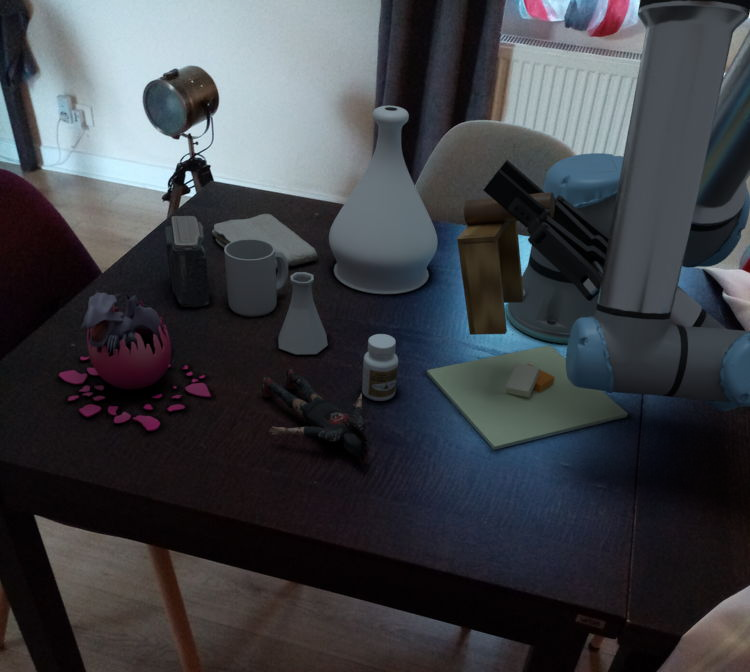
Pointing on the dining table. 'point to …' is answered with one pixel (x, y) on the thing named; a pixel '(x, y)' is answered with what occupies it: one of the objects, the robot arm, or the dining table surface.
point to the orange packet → (543, 381)
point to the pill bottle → (380, 368)
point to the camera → (187, 261)
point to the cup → (254, 276)
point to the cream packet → (522, 380)
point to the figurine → (320, 415)
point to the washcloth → (266, 237)
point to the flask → (302, 320)
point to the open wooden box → (492, 262)
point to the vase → (384, 220)
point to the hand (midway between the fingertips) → (495, 175)
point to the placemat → (521, 398)
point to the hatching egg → (126, 353)
